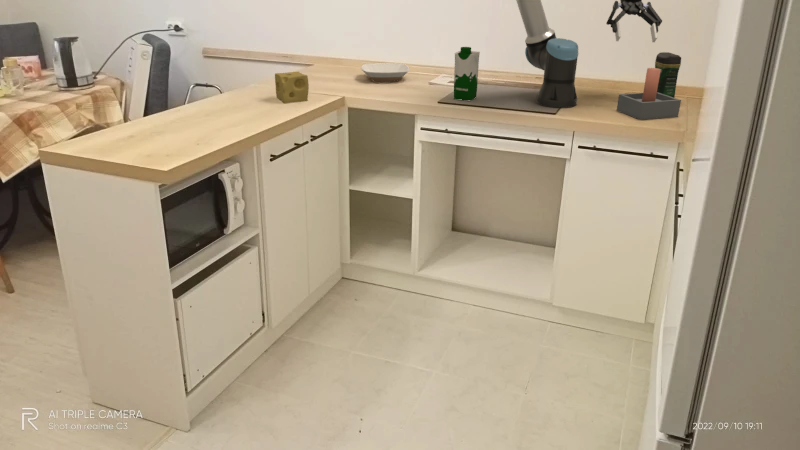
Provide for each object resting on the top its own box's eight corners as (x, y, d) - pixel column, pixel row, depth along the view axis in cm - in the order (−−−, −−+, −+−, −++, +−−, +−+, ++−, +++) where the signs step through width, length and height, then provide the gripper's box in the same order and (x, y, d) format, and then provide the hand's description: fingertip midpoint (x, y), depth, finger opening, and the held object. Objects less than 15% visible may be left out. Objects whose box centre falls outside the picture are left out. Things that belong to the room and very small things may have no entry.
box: (640, 119, 224) (643, 103, 222) (616, 110, 236) (618, 94, 234) (677, 116, 229) (681, 100, 226) (652, 107, 241) (655, 91, 238)
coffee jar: (677, 103, 247) (686, 54, 239) (657, 104, 246) (666, 55, 238) (664, 98, 255) (672, 50, 248) (645, 98, 254) (653, 51, 247)
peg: (645, 115, 230) (652, 70, 224) (637, 112, 234) (644, 68, 227) (655, 114, 231) (663, 69, 225) (647, 111, 235) (655, 67, 229)
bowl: (359, 74, 294) (359, 63, 292) (406, 74, 297) (406, 62, 294) (362, 84, 275) (362, 72, 273) (412, 83, 277) (412, 71, 275)
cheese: (283, 104, 242) (281, 77, 238) (275, 98, 251) (273, 72, 247) (309, 101, 246) (308, 75, 242) (300, 95, 255) (298, 70, 251)
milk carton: (450, 99, 250) (452, 47, 242) (458, 95, 257) (461, 44, 249) (471, 102, 247) (474, 49, 238) (479, 97, 254) (482, 46, 246)
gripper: (658, 0, 246) (665, 46, 238) (594, -2, 245) (599, 44, 238) (666, -13, 239) (674, 34, 231) (600, -15, 238) (606, 32, 231)
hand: (636, 39), depth 235 cm, fingers open, 13 cm apart
